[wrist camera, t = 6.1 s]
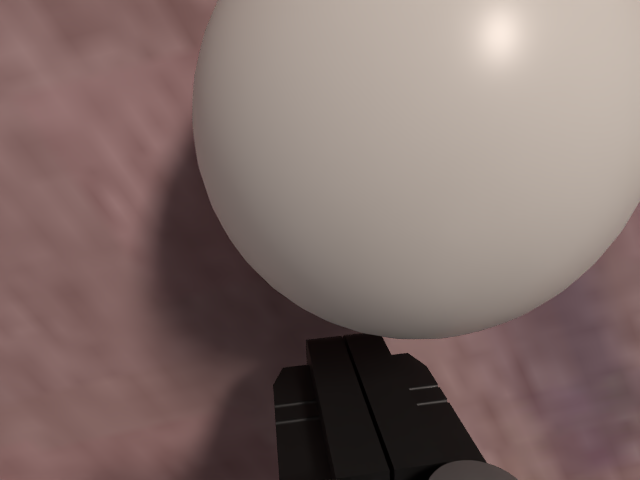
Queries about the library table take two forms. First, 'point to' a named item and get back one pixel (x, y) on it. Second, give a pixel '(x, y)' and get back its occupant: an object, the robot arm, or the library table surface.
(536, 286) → the cue ball
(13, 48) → the library table surface
